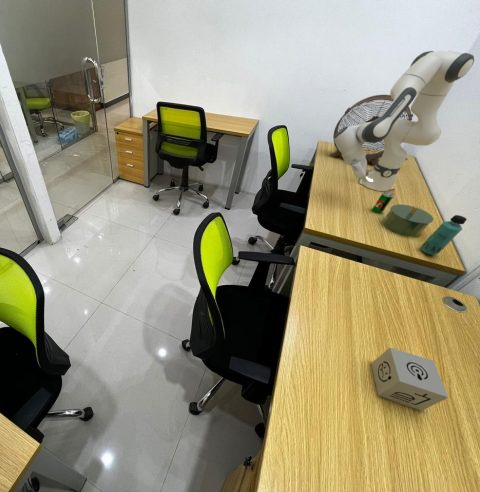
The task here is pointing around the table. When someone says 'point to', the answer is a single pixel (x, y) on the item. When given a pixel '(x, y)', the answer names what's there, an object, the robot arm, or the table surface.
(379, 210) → the soda can
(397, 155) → the robot arm
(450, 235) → the beverage bottle
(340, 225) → the table surface
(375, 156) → the fan
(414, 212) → the lid
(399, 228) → the pot
